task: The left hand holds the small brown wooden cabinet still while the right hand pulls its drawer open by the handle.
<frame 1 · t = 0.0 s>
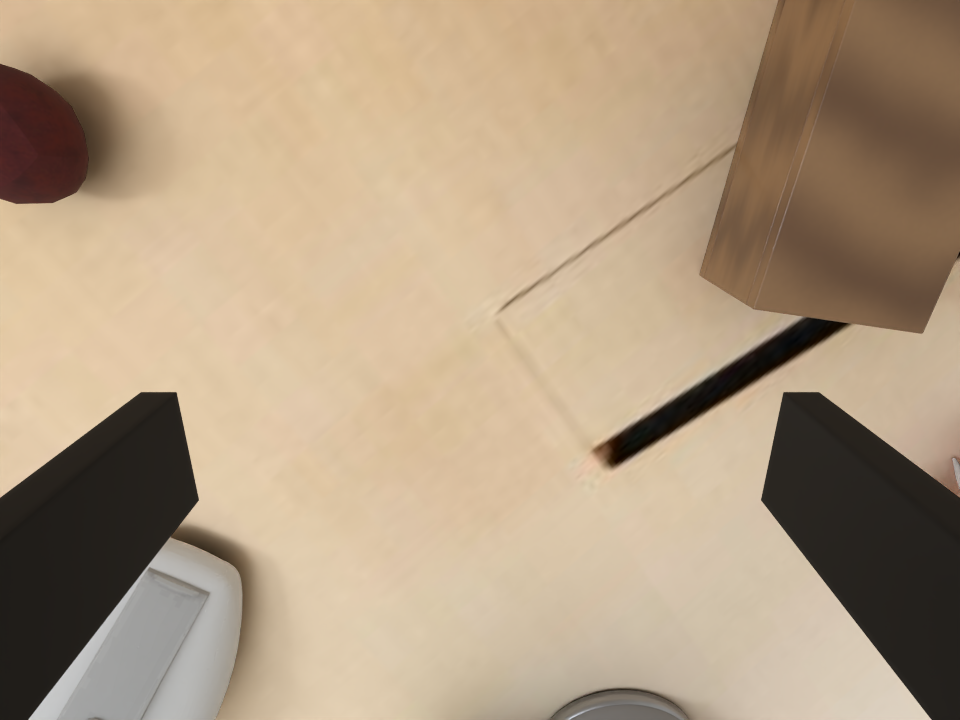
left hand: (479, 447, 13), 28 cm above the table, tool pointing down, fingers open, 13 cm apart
projector: (157, 627, 51), on the table
cabinet: (821, 127, 36), on the table
dark maroon ball: (56, 138, 37), on the table
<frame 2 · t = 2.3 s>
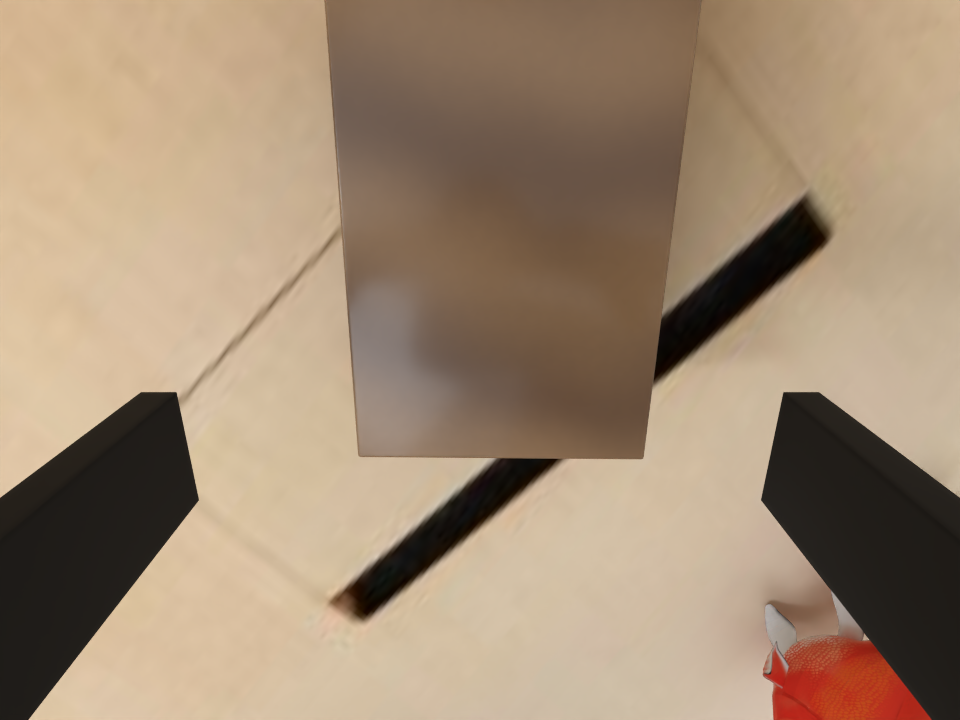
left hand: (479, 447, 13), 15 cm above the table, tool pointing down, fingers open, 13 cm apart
fish: (833, 575, 32), on the table
cabinet: (499, 141, 24), on the table
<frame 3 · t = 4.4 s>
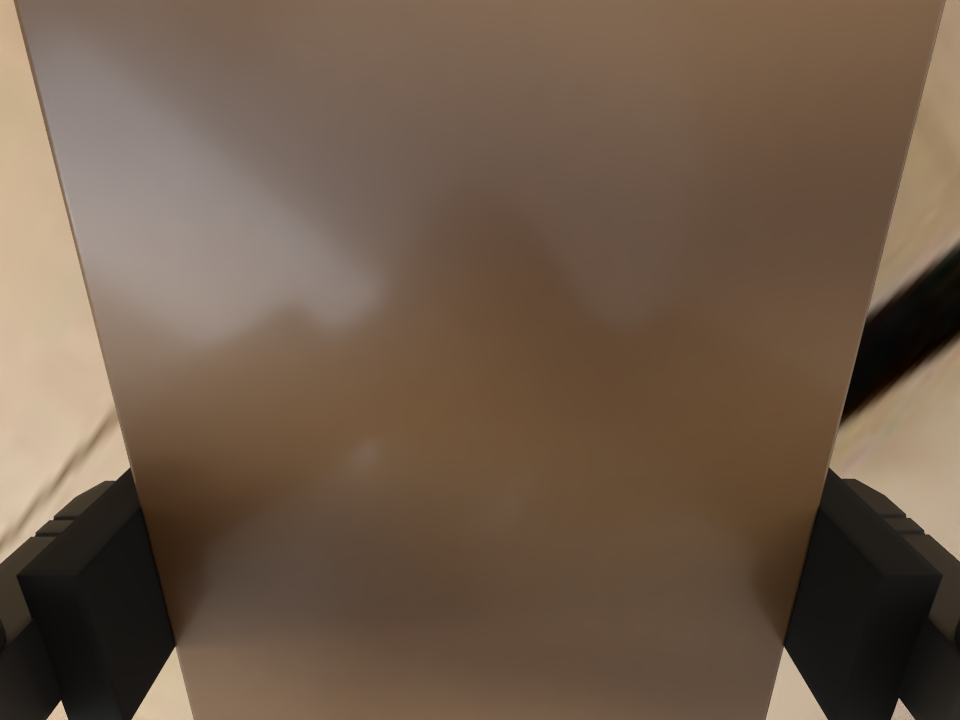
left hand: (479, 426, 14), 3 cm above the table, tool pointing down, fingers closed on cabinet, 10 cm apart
cabinet: (479, 143, 14), on the table, touching left hand
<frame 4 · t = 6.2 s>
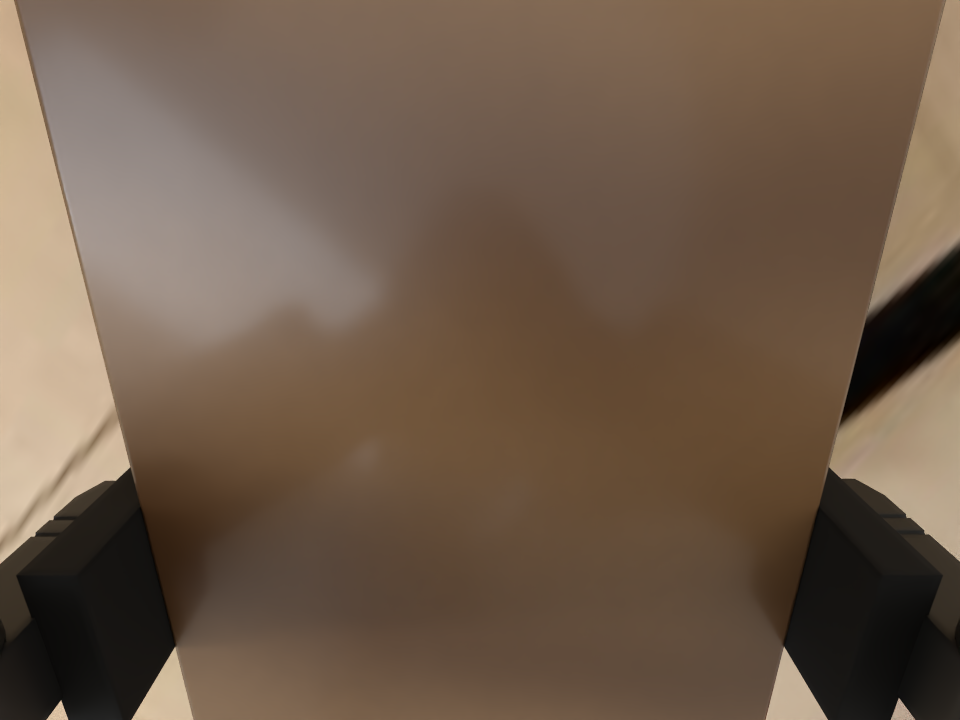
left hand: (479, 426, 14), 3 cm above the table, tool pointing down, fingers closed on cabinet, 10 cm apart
cabinet: (479, 143, 14), on the table, touching left hand
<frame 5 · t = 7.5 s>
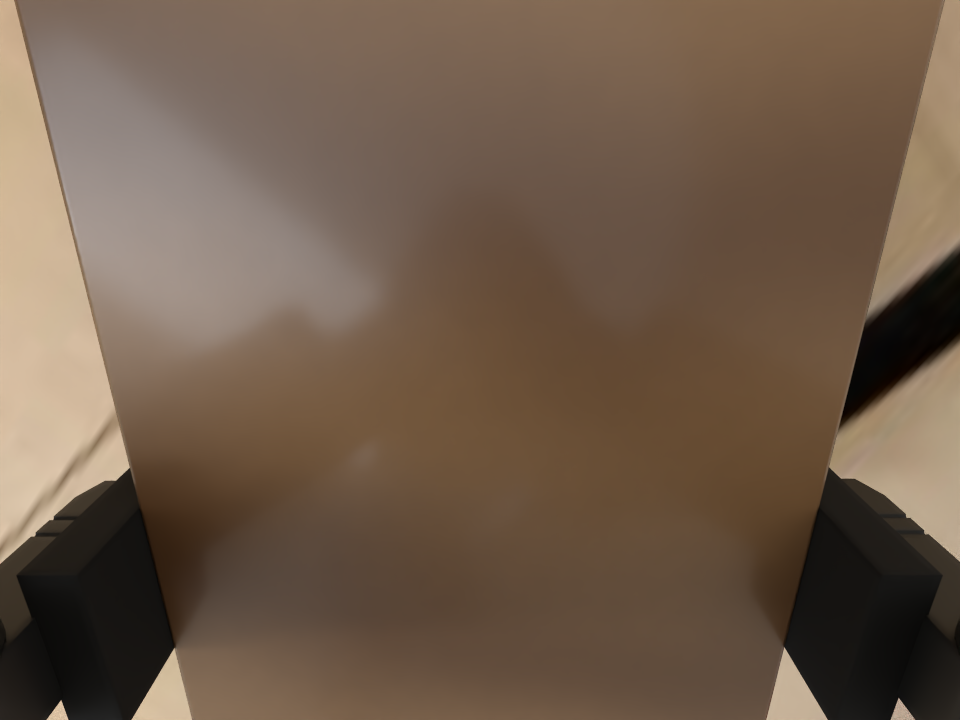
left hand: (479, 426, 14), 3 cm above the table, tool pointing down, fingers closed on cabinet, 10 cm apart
cabinet: (479, 143, 14), on the table, touching left hand
when the left hand's fingers open (3 cm above the table, at t = 9.3 s): cabinet stays where it is, on the table.
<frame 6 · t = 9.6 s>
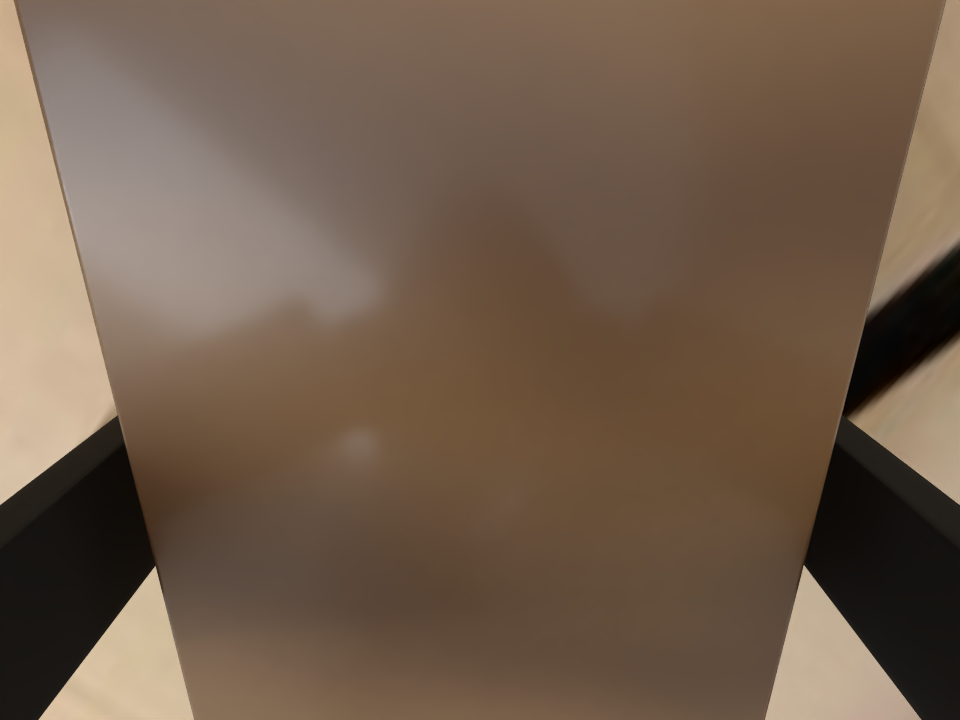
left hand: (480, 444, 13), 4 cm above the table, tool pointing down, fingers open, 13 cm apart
cabinet: (479, 134, 14), on the table
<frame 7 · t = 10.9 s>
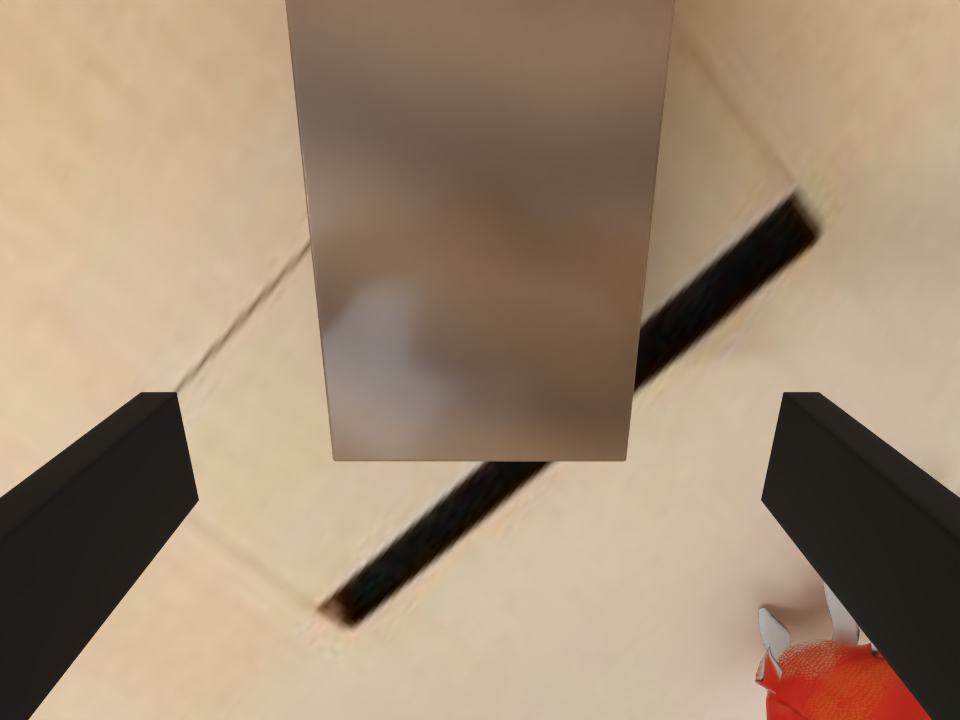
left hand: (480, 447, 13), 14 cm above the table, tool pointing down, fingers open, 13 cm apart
fish: (828, 578, 32), on the table
cabinet: (479, 136, 24), on the table
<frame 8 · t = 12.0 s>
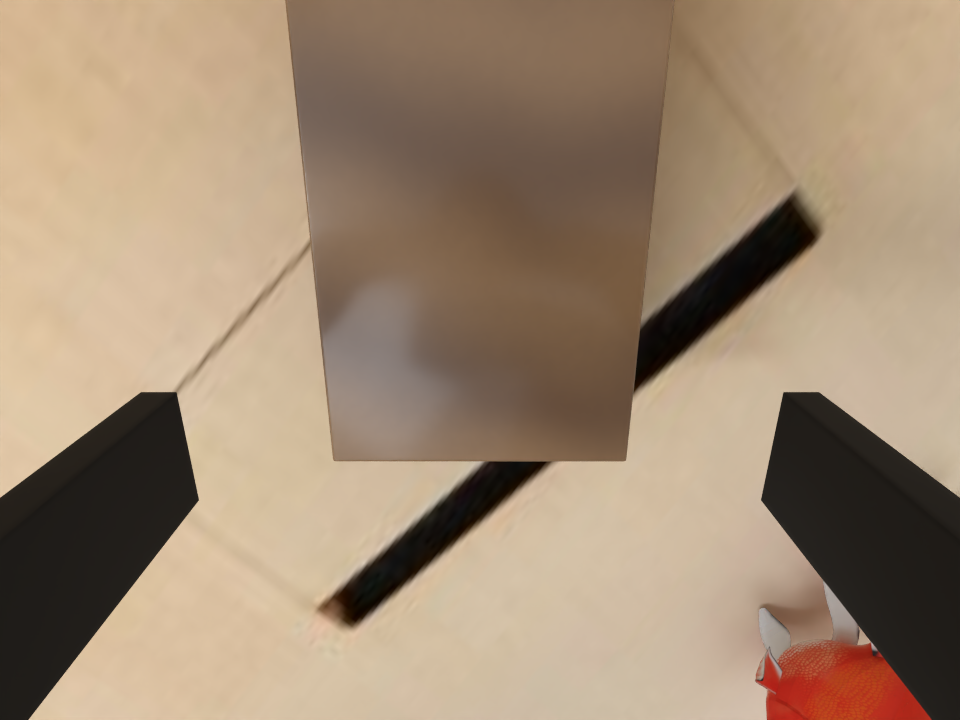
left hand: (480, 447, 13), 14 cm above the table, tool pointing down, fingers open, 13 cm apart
fish: (828, 578, 32), on the table
cabinet: (479, 136, 24), on the table
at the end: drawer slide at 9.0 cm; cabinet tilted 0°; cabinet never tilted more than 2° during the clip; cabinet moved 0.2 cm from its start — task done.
